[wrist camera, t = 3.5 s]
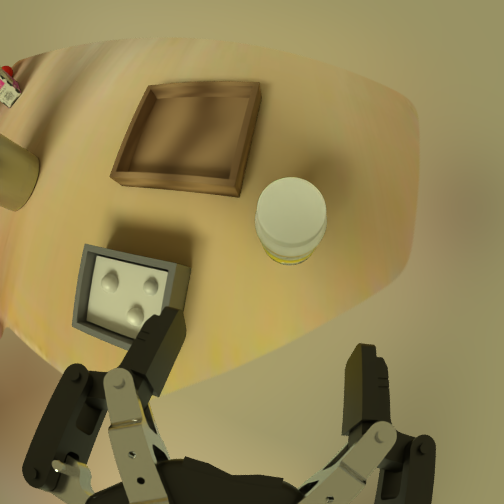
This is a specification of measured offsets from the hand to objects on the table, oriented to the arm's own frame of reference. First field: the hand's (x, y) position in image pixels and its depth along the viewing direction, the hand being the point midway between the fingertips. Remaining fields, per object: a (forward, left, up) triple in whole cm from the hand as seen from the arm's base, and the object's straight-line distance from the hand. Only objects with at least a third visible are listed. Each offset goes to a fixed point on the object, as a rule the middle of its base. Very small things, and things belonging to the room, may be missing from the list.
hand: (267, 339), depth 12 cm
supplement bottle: (0, +7, -11) cm, 13 cm away
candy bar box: (-68, +34, -11) cm, 77 cm away
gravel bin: (-13, -1, -11) cm, 17 cm away
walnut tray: (-11, +16, -11) cm, 22 cm away
